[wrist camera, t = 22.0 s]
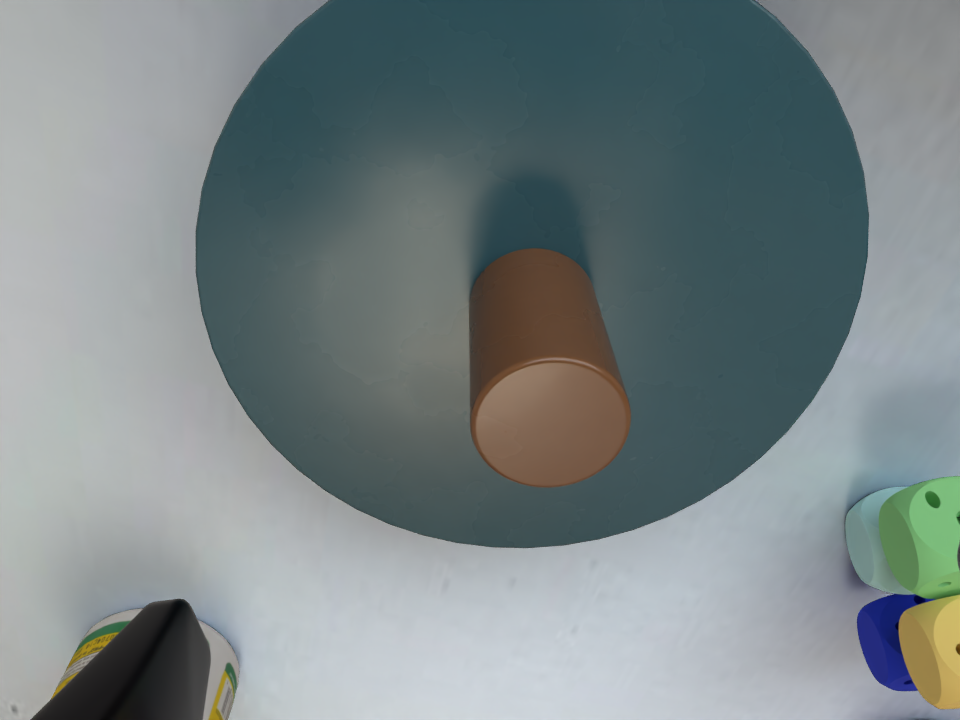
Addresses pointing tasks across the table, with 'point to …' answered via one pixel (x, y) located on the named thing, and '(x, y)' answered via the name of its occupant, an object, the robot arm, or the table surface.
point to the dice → (911, 586)
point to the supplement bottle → (221, 668)
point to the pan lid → (531, 256)
